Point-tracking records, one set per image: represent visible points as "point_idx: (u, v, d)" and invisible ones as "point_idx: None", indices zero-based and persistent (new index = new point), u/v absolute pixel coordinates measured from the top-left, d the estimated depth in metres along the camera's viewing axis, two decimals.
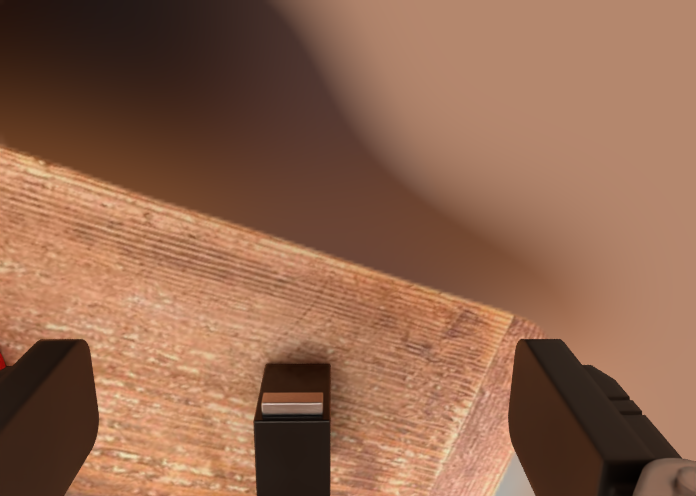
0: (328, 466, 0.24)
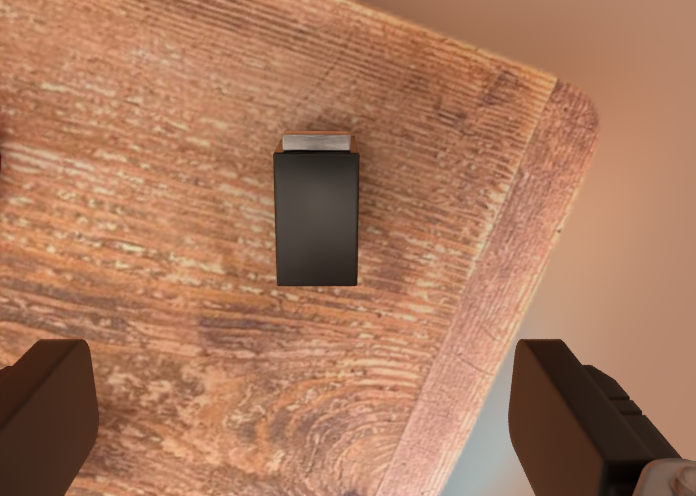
0: (356, 213, 0.22)
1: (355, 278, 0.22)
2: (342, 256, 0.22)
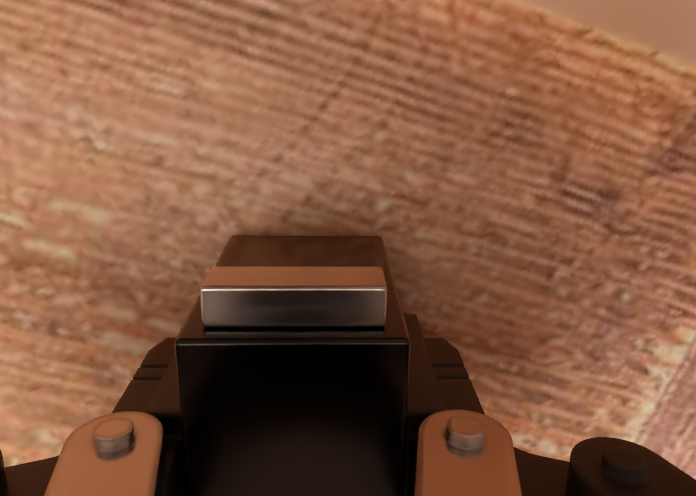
0: (399, 480, 0.08)
1: None
2: None
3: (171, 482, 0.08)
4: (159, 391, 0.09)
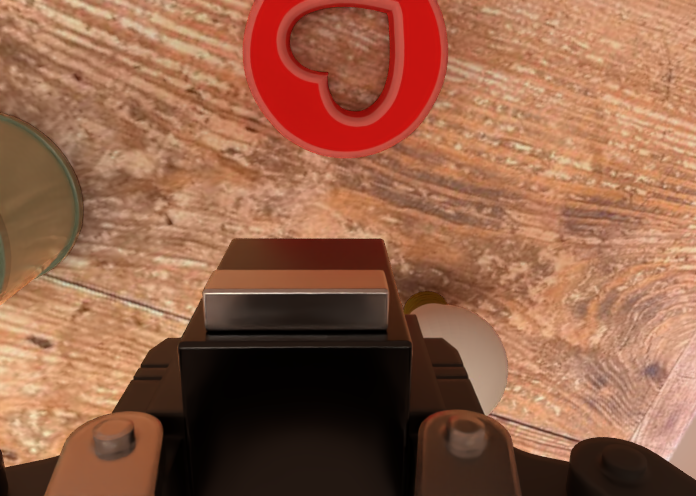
0: (401, 483, 0.08)
1: None
2: None
3: (171, 482, 0.08)
4: (159, 391, 0.09)
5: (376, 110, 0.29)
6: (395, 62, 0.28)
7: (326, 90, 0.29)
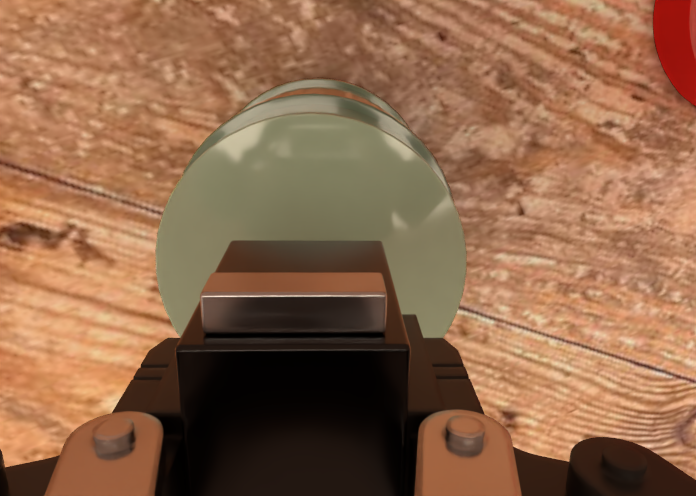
0: (399, 486, 0.08)
1: None
2: None
3: (171, 482, 0.08)
4: (159, 391, 0.09)
5: None
6: None
7: None
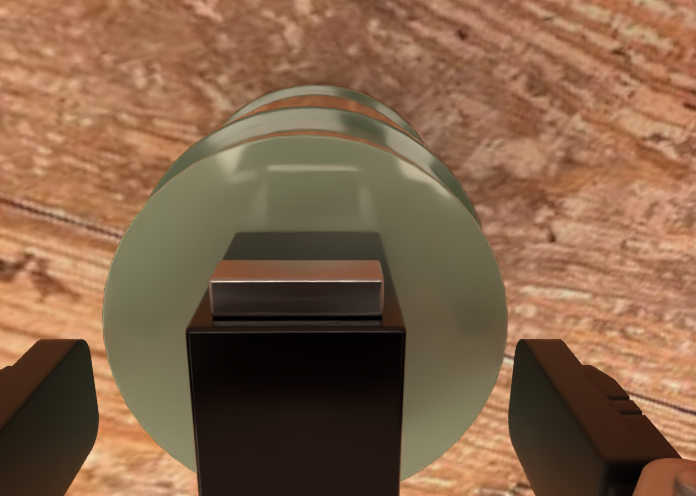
0: (396, 461, 0.09)
1: None
2: None
3: None
4: None
5: None
6: None
7: None
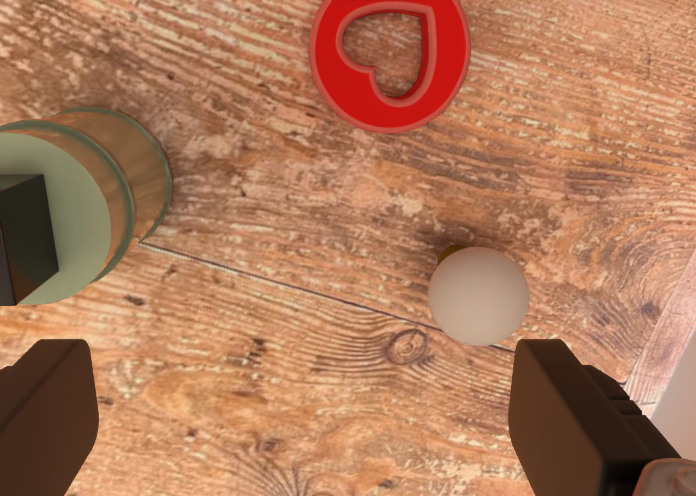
0: (2, 243, 0.25)
1: (12, 299, 0.26)
2: None
3: None
4: None
5: (415, 93, 0.36)
6: (429, 54, 0.36)
7: (375, 79, 0.36)
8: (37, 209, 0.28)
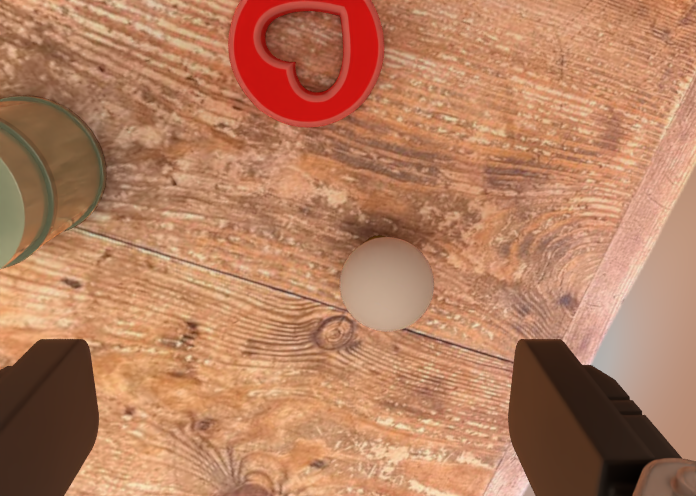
0: None
1: None
2: None
3: None
4: None
5: (331, 89, 0.38)
6: (344, 52, 0.37)
7: (292, 74, 0.38)
8: None
